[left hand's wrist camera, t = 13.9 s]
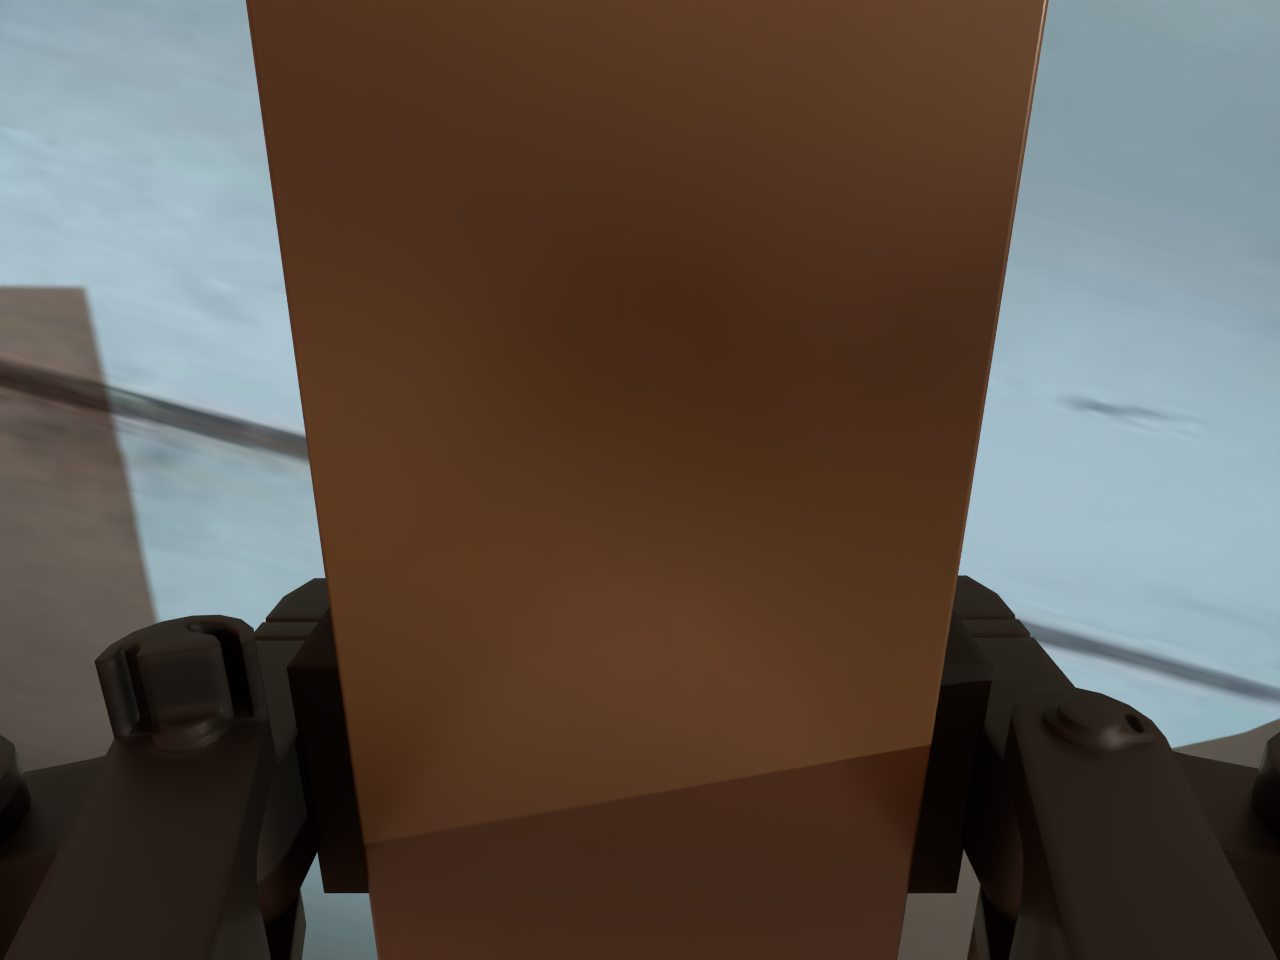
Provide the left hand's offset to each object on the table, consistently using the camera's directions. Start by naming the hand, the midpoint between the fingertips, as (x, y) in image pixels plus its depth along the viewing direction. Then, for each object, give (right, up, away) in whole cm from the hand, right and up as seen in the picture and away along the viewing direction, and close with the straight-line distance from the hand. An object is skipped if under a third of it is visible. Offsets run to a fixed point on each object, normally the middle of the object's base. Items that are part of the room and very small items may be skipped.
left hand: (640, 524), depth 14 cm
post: (0, -31, +12) cm, 33 cm away
